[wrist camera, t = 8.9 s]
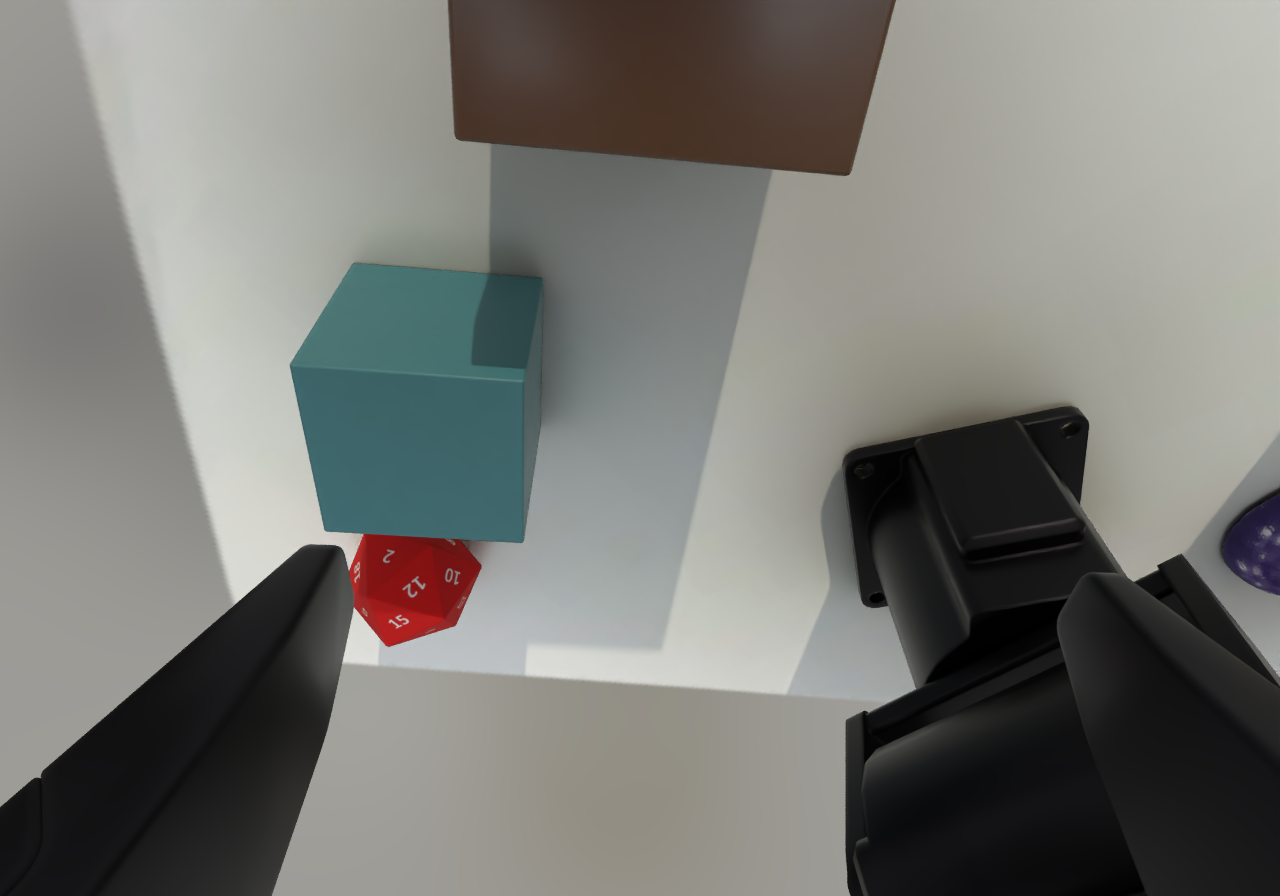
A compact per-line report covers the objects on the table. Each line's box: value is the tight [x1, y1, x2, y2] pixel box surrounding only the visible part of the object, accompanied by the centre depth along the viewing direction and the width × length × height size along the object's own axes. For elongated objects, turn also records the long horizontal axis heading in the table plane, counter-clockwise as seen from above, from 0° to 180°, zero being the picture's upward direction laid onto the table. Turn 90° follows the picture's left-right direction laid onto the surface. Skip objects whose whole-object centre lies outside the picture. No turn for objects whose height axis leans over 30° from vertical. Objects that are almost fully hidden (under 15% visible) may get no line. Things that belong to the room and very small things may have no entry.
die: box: [349, 534, 481, 647], centre depth 23 cm, size 4×4×4 cm
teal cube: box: [290, 263, 543, 543], centre depth 18 cm, size 4×4×4 cm
